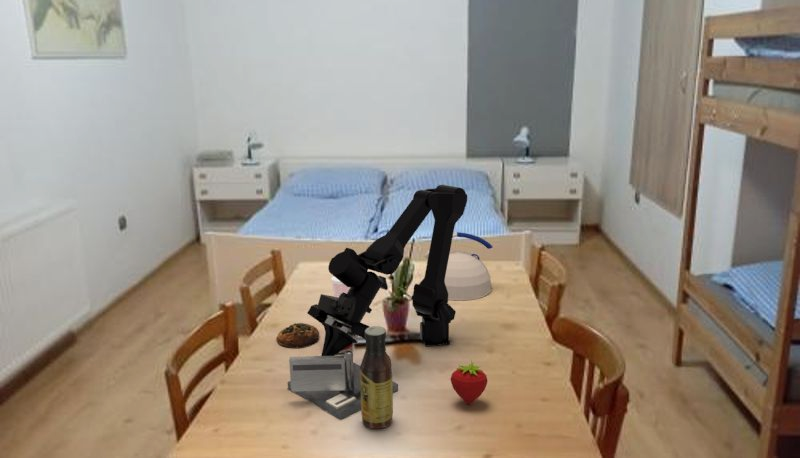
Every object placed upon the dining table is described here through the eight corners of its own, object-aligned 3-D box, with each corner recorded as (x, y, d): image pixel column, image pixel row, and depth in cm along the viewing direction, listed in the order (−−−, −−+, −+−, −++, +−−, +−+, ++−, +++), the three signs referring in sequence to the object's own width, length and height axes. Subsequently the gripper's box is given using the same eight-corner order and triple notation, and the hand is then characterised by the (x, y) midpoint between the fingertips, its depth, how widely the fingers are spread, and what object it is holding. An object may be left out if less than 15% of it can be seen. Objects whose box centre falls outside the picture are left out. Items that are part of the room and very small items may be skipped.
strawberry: (451, 395, 136) (451, 351, 134) (487, 397, 135) (488, 353, 132) (449, 409, 131) (449, 365, 128) (486, 412, 129) (487, 367, 127)
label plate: (344, 393, 135) (344, 391, 134) (356, 399, 132) (356, 397, 132) (325, 402, 131) (325, 400, 131) (337, 409, 129) (337, 407, 129)
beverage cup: (357, 308, 184) (356, 261, 180) (339, 313, 181) (337, 265, 177) (347, 301, 189) (345, 256, 185) (328, 306, 186) (326, 260, 182)
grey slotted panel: (354, 386, 135) (353, 350, 133) (354, 390, 133) (352, 353, 131) (292, 388, 135) (289, 351, 133) (291, 392, 133) (288, 355, 131)
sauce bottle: (361, 414, 130) (357, 322, 124) (392, 412, 130) (390, 321, 125) (362, 432, 123) (358, 337, 118) (394, 430, 124) (392, 335, 118)
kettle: (427, 277, 209) (427, 223, 204) (491, 279, 206) (493, 224, 202) (420, 299, 190) (420, 241, 185) (491, 302, 187) (493, 242, 182)
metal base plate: (344, 363, 151) (343, 354, 150) (398, 390, 139) (397, 380, 138) (287, 388, 140) (287, 378, 140) (340, 419, 128) (340, 409, 127)
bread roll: (307, 351, 158) (304, 331, 157) (269, 350, 162) (265, 331, 161) (328, 334, 168) (325, 316, 167) (291, 334, 172) (288, 316, 171)
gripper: (311, 269, 142) (273, 331, 137) (367, 290, 129) (328, 359, 125) (340, 293, 149) (305, 352, 145) (397, 314, 136) (360, 380, 132)
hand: (323, 360), depth 136 cm, fingers closed
